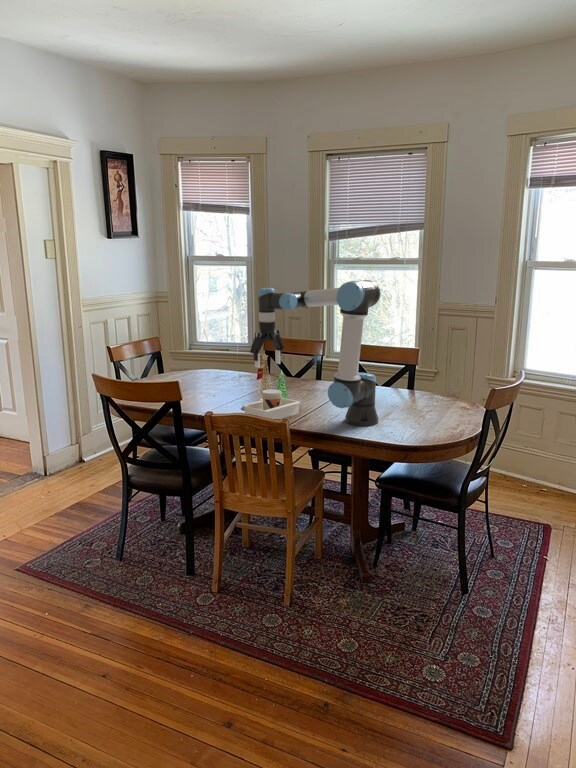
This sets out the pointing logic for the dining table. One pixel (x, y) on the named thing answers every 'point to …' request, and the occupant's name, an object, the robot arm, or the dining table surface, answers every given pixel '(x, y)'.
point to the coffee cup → (271, 398)
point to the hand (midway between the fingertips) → (267, 365)
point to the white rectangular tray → (274, 409)
